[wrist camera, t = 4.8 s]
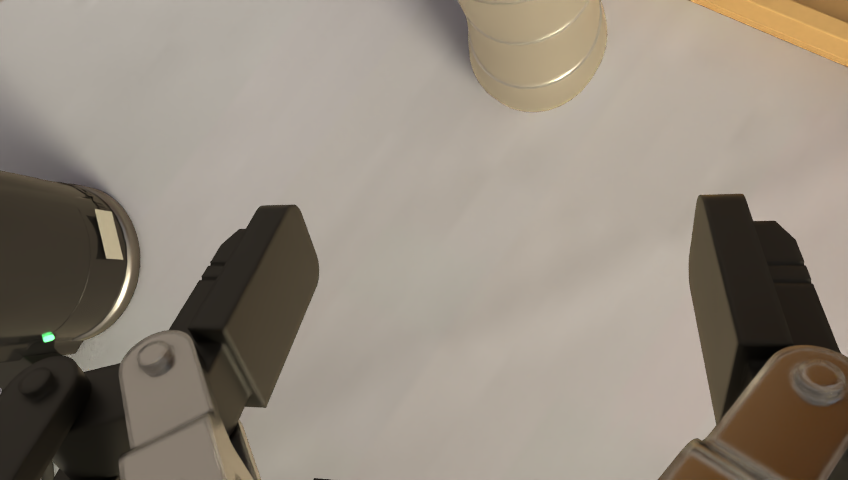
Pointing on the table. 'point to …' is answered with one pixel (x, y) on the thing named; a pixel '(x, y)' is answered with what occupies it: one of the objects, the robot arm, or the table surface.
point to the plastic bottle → (535, 49)
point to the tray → (794, 22)
